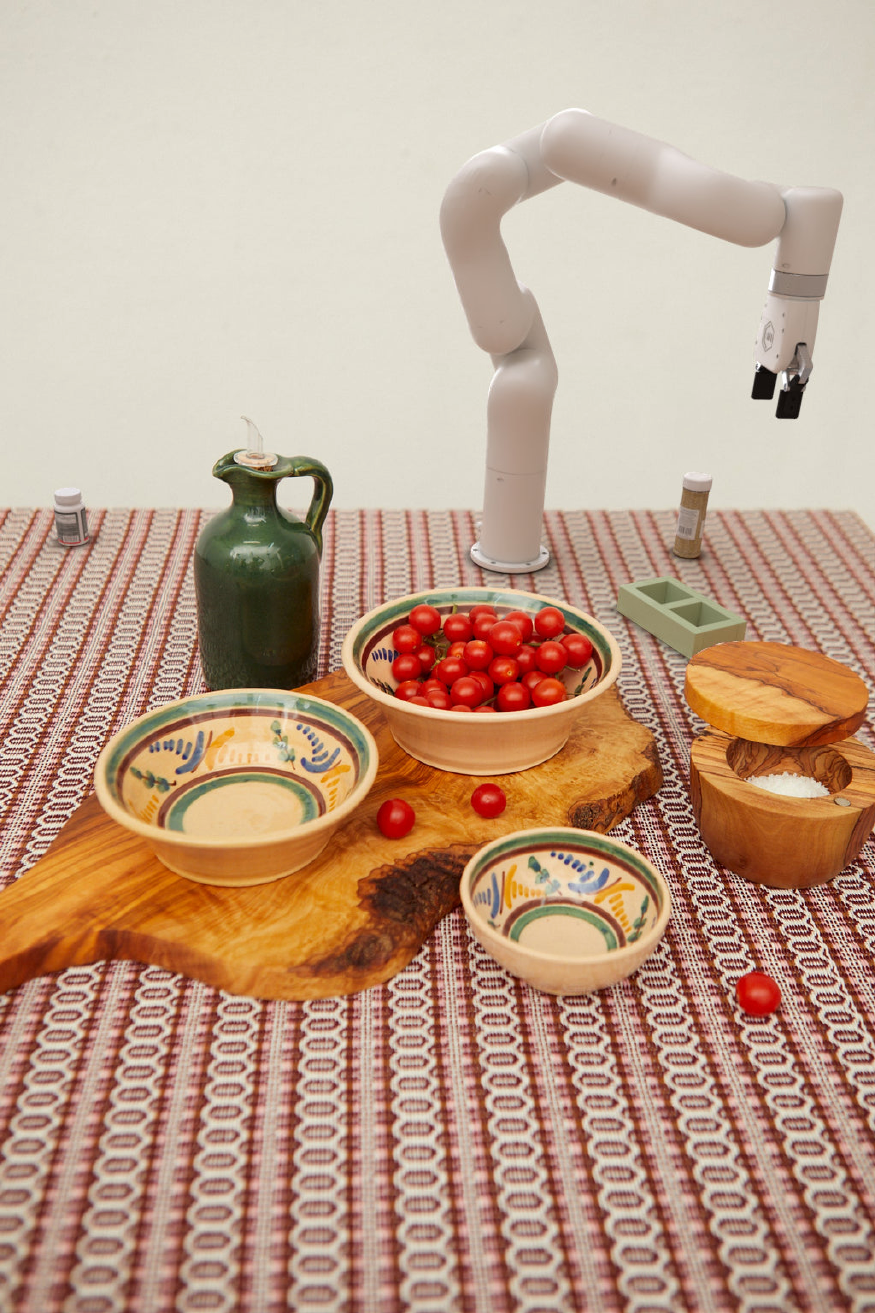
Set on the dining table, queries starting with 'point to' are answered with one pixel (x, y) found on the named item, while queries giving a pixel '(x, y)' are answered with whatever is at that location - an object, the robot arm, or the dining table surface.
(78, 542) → the pill bottle
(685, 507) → the sprinkles bottle
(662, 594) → the socket block
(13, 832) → the dining table surface
